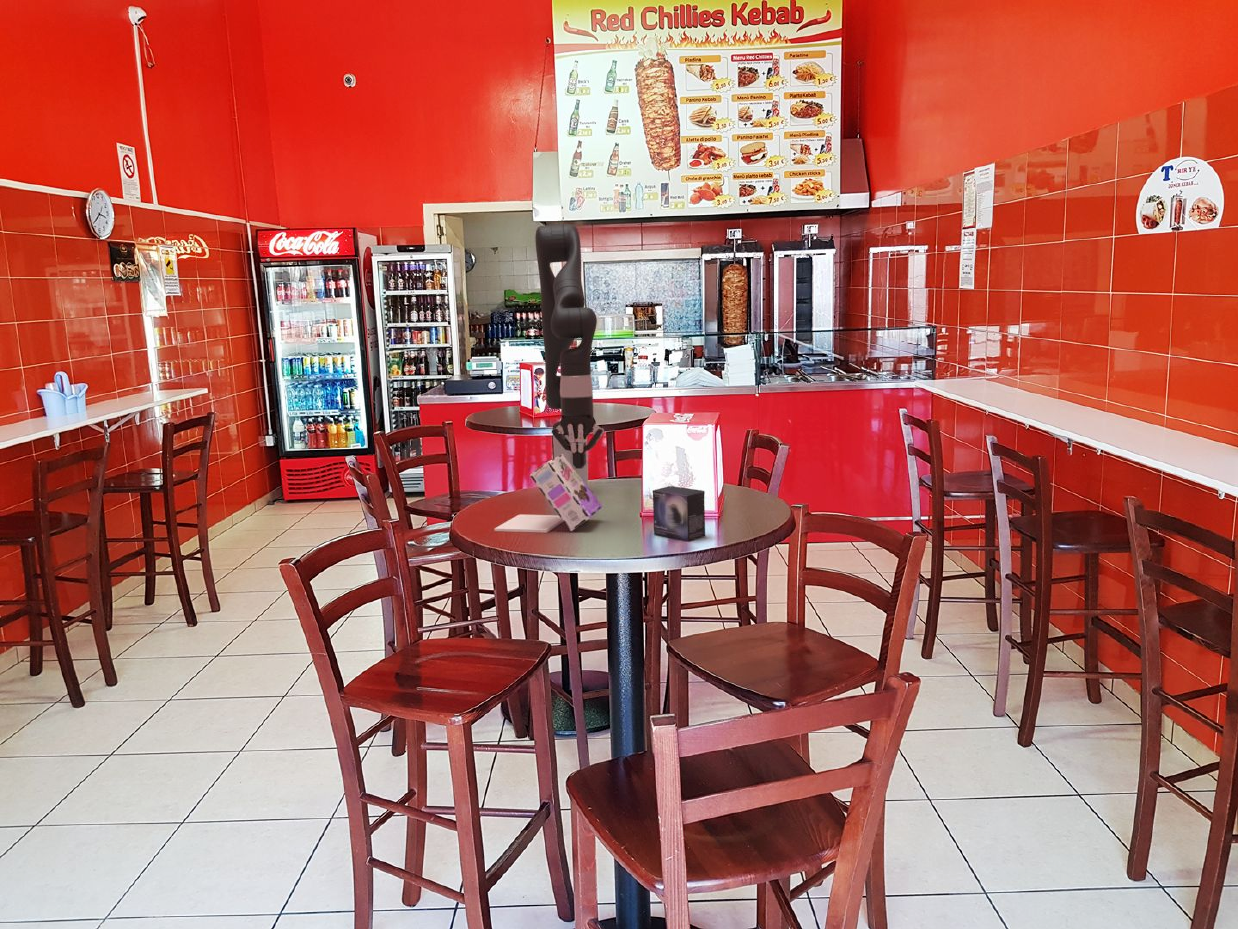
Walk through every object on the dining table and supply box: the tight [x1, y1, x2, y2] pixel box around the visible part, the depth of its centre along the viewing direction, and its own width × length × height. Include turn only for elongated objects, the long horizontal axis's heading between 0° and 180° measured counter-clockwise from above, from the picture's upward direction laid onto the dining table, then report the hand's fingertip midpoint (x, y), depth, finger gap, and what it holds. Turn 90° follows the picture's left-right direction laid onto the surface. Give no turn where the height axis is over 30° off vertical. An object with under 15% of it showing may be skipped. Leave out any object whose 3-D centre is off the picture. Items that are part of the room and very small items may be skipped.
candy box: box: [529, 454, 603, 532], centre depth 227 cm, size 14×6×16 cm
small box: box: [652, 485, 706, 542], centre depth 214 cm, size 11×6×10 cm, turn 45°
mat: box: [494, 514, 564, 534], centre depth 231 cm, size 16×13×1 cm
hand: (579, 468), depth 226 cm, fingers closed
